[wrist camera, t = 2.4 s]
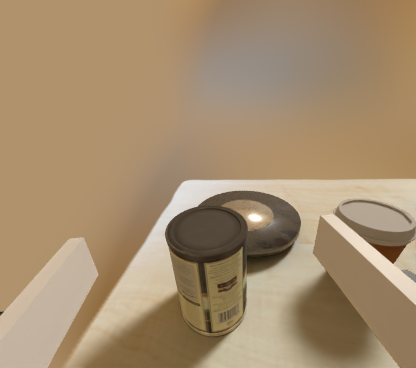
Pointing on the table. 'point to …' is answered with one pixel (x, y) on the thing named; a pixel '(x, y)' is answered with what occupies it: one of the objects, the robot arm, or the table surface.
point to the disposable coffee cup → (378, 225)
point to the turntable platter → (262, 220)
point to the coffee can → (210, 267)
